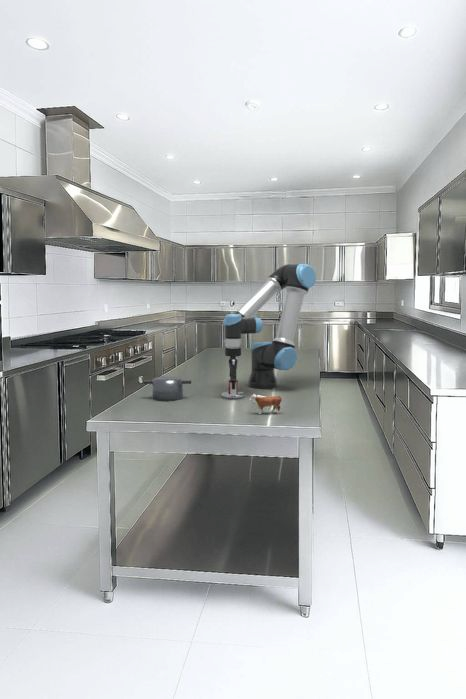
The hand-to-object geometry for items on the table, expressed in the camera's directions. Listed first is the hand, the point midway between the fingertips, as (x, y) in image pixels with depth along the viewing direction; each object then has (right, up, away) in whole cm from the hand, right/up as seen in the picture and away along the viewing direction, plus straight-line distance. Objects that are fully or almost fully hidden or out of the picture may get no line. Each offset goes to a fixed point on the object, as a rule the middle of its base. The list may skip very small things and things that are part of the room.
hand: (232, 393), depth 261 cm
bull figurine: (+14, -6, -32) cm, 36 cm away
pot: (-30, -2, -3) cm, 31 cm away
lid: (0, -2, 0) cm, 2 cm away
